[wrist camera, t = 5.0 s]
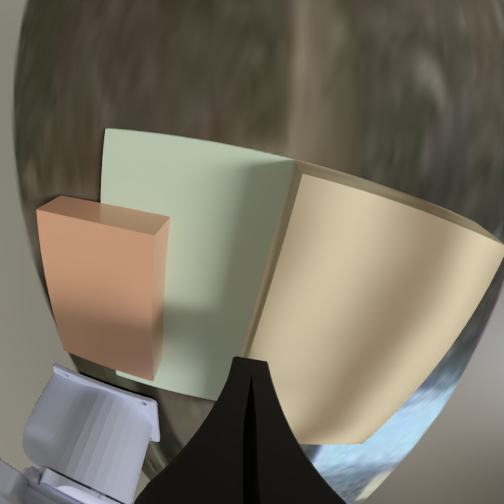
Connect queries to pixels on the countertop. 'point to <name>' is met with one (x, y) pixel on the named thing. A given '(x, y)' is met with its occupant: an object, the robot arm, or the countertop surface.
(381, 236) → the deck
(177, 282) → the mat
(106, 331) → the tile
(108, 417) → the robot arm
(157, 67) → the countertop surface
